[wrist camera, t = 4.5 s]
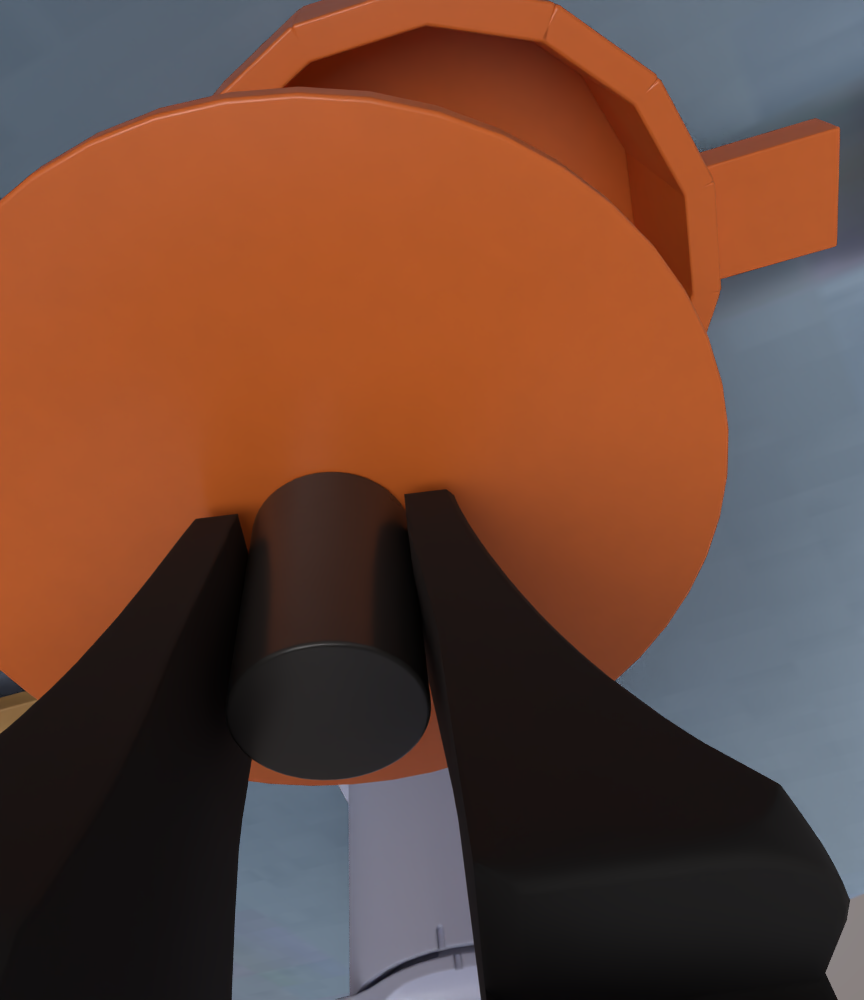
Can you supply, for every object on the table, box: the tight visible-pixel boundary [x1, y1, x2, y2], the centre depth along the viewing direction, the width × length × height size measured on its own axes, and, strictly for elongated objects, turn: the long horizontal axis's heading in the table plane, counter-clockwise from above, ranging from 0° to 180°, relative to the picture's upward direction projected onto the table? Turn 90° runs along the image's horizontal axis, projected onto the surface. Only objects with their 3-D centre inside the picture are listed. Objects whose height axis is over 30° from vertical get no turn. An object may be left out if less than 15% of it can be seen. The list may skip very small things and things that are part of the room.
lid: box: [0, 87, 728, 786], centre depth 11 cm, size 12×12×5 cm
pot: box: [213, 0, 840, 333], centre depth 18 cm, size 11×17×4 cm
